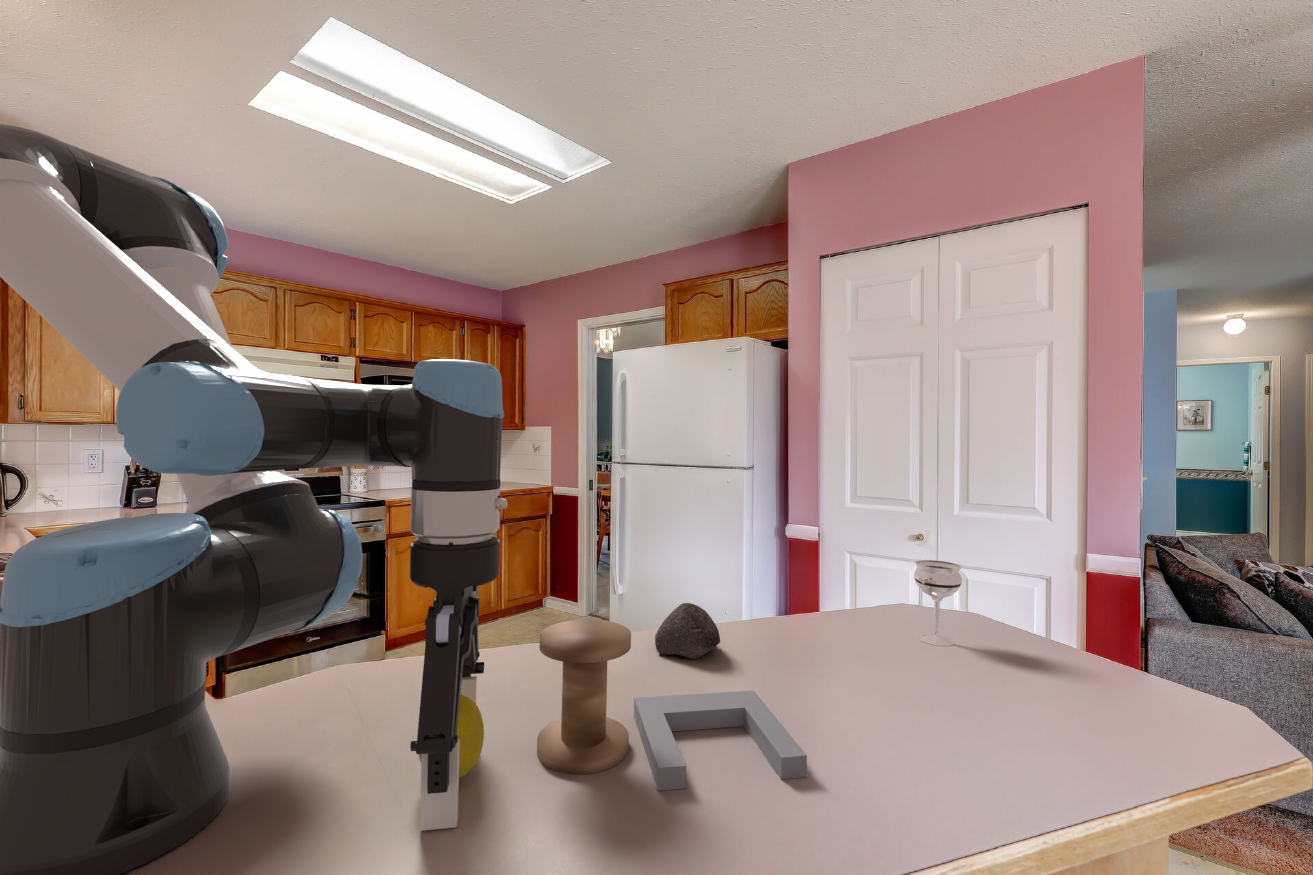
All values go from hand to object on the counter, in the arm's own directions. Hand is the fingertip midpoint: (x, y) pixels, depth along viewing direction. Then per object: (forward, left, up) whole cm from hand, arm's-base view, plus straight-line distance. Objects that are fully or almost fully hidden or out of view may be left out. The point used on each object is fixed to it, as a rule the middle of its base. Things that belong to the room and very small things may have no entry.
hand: (451, 780), depth 52 cm
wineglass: (+69, +28, 0) cm, 74 cm away
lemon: (0, 0, 0) cm, 0 cm away
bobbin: (+12, +4, 0) cm, 13 cm away
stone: (+29, +29, -1) cm, 41 cm away
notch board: (+25, +3, 0) cm, 25 cm away
